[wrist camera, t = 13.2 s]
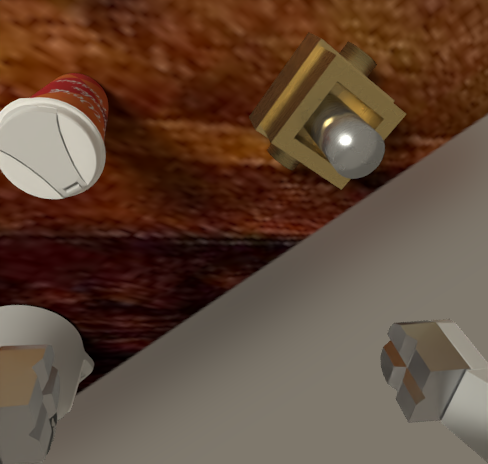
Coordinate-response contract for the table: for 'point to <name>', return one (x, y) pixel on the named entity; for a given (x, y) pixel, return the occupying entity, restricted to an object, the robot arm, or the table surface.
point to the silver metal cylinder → (345, 138)
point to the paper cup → (55, 138)
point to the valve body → (312, 94)
